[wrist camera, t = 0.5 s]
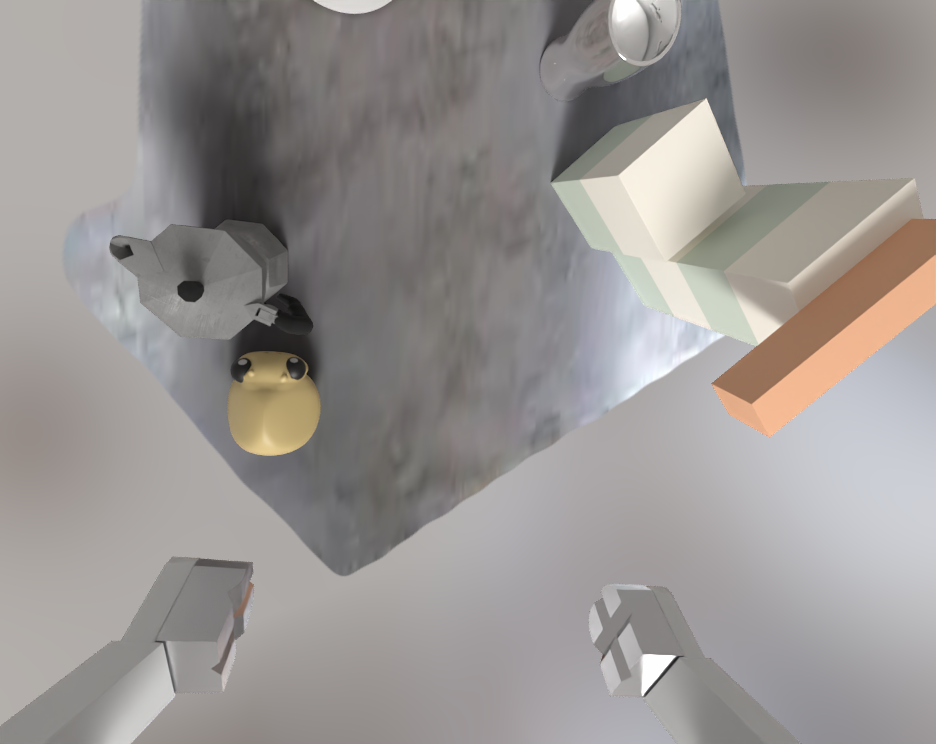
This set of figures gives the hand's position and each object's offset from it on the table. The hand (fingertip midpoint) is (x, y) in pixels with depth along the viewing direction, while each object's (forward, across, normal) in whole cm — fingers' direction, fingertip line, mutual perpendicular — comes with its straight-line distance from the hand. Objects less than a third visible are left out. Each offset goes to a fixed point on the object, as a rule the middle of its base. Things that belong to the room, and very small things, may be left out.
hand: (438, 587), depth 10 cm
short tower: (+50, -21, -6) cm, 55 cm away
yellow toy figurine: (+41, +14, +23) cm, 49 cm away
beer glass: (+52, -12, -17) cm, 56 cm away
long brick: (+24, -32, -2) cm, 40 cm away
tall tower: (+50, -32, 0) cm, 60 cm away
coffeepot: (+43, +18, +10) cm, 48 cm away
